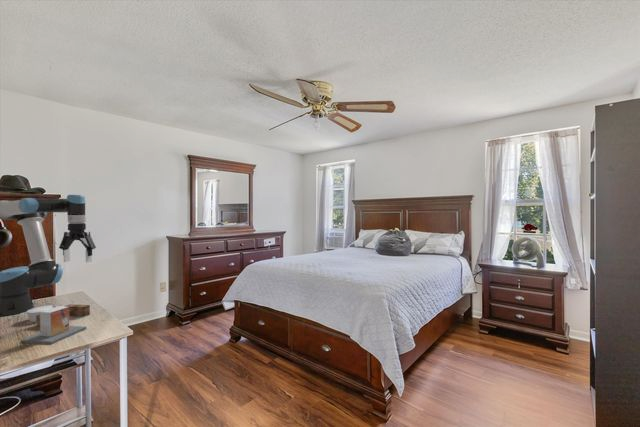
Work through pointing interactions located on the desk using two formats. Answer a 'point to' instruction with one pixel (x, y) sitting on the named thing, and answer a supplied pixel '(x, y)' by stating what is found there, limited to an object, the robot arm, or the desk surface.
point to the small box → (54, 321)
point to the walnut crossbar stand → (73, 311)
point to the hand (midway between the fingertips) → (77, 261)
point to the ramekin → (37, 312)
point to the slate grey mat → (51, 340)
